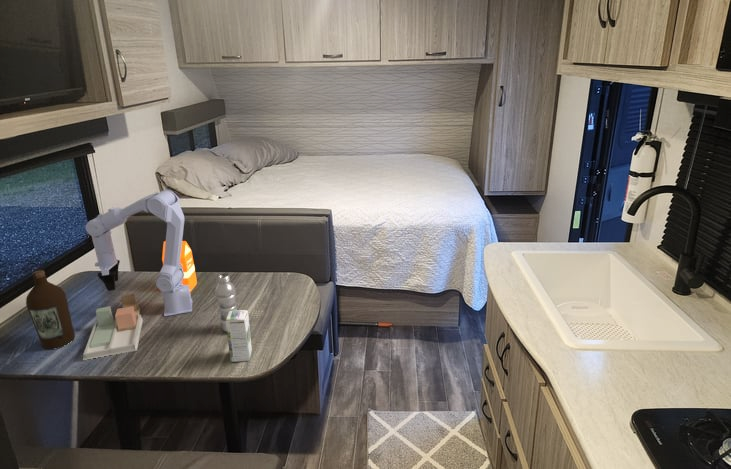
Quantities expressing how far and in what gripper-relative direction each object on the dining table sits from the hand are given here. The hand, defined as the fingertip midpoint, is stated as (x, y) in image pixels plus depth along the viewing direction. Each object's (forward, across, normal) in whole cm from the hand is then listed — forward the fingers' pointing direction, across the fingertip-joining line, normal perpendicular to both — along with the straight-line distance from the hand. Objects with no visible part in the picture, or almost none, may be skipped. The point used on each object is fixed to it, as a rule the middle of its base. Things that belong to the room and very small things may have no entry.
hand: (113, 285), depth 170 cm
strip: (+9, +18, -2) cm, 21 cm away
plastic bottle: (+10, +29, +38) cm, 49 cm away
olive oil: (+10, +16, -16) cm, 25 cm away
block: (+8, +16, +5) cm, 18 cm away
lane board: (+10, +21, +2) cm, 23 cm away
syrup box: (+10, +46, +40) cm, 62 cm away
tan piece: (+9, +11, +5) cm, 15 cm away
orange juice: (+10, -10, +22) cm, 26 cm away
